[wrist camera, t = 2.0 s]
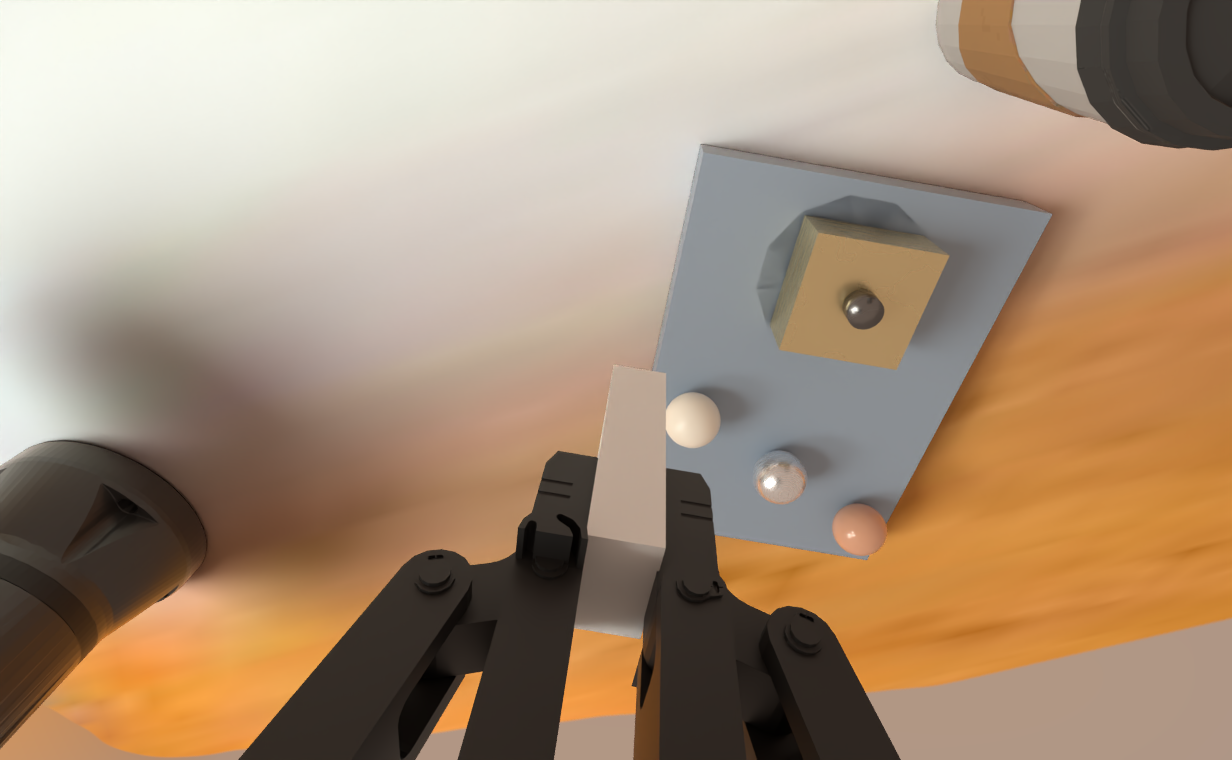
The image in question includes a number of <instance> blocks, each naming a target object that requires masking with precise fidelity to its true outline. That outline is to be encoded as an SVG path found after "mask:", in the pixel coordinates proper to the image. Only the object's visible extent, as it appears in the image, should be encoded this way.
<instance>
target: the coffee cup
mask: <svg viewBox="0 0 1232 760" xmlns="http://www.w3.org/2000/svg"><path fill="white" fill-rule="evenodd" d="M936 31H937V38H938V44H939V46H940V49H941V51H942V53H943V55H944V57H945V59H946V61H947V62H948V63H949V64H950V65H951V66H952V67H953V68H954V69H955V70H956V71H957V72H958V73H959V74H961V75H963V76H965V77H967V78H969V79H971V80H973V81H976V82H979V83H982V84H984V85H986V86H989V87H991V88H993V89H995V90H997V91H1000V92H1003V93H1006V94H1009V95H1012V96H1015V97H1018V98H1021V99H1024V100H1027V101H1030V102H1033V103H1036V104H1039V105H1042V106H1045V107H1048V108H1051V109H1054V110H1057V111H1060V112H1063V113H1066V114H1069V115H1072V116H1075V117H1087V118H1091V119H1094V120H1097V121H1101V122H1104V123H1107V124H1109V126H1110V127H1111V128H1112V129H1114V130H1116V131H1118V132H1120V133H1122V134H1124V135H1126V136H1128V137H1130V138H1132V139H1134V140H1136V141H1138V142H1140V143H1143V144H1150V145H1157V146H1164V147H1172V148H1187V147H1189V148H1196V149H1204V150H1220V149H1228V148H1232V0H939V1H938V7H937V16H936Z"/></svg>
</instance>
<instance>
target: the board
mask: <svg viewBox="0 0 1232 760" xmlns="http://www.w3.org/2000/svg"><path fill="white" fill-rule="evenodd" d="M804 215H807V216H813V217H819V218H825V219H830V220H836V221H842V222H847V223H853V224H859V225H864V226H870V227H876V228H882V229H887V230H893V231H899V232H904V233H910V234H916V235H922V236H925V237H926V238H927V239H929V240H930V241H931V242H933V243H934V244H935V245H937V246H938V247H939V248H940V249H942V250H943V251H944V252H946V253H947V254H948V255H950V256H949V258H948V260H947V262H946V264H945V267H944V269H943V271H942V273H941V275H940V277H939V280H938V282H937V284H936V286H935V288H934V290H933V293H932V295H931V297H930V299H929V301H928V303H927V306H926V308H925V310H924V312H923V314H922V316H921V318H920V321H919V323H918V325H917V327H916V329H915V331H914V334H913V336H912V338H911V340H910V342H909V344H908V347H907V349H906V351H905V353H904V355H903V357H902V359H901V362H900V364H899V366H898V368H897V370H893V369H888V368H882V367H876V366H870V365H864V364H858V363H852V362H847V361H841V360H835V359H829V358H823V357H817V356H812V355H806V354H800V353H794V352H788V351H782V350H779V349H778V346H777V343H776V340H775V338H774V335H773V332H772V329H771V327H770V322H771V319H772V316H773V312H774V309H775V306H776V303H777V300H778V297H779V294H780V291H781V287H782V284H783V281H784V278H785V275H786V272H787V269H788V266H789V262H790V259H791V256H792V253H793V250H794V247H795V244H796V240H797V237H798V234H799V231H800V228H801V225H802V222H803V219H804ZM1051 216H1052V214H1051V213H1049V212H1047V211H1045V210H1043V209H1040V208H1038V207H1036V206H1034V205H1032V204H1029V203H1027V202H1025V201H1020V200H1014V199H1008V198H1003V197H997V196H991V195H986V194H980V193H974V192H969V191H963V190H957V189H952V188H946V187H940V186H935V185H929V184H923V183H918V182H912V181H907V180H901V179H895V178H890V177H884V176H878V175H873V174H867V173H861V172H856V171H850V170H844V169H839V168H833V167H827V166H822V165H816V164H810V163H805V162H799V161H793V160H788V159H782V158H776V157H771V156H765V155H759V154H754V153H748V152H743V151H737V150H731V149H726V148H720V147H714V146H709V145H703V144H701V145H700V150H699V154H698V159H697V164H696V168H695V173H694V178H693V182H692V187H691V192H690V196H689V201H688V206H687V210H686V215H685V220H684V224H683V229H682V233H681V238H680V243H679V247H678V252H677V257H676V261H675V266H674V271H673V275H672V280H671V285H670V289H669V294H668V299H667V303H666V308H665V313H664V317H663V322H662V327H661V331H660V336H659V341H658V345H657V350H656V355H655V359H654V364H653V368H652V371H656V372H662V373H666V409H667V407H668V405H669V404H670V402H671V401H672V400H673V399H675V398H676V397H677V396H679V395H681V394H684V393H688V392H696V393H701V394H703V395H705V396H707V397H709V398H710V399H711V400H712V401H713V402H714V403H715V404H716V406H717V408H718V410H719V413H720V419H721V422H720V428H719V431H718V433H717V435H716V436H715V438H714V439H713V440H712V441H711V442H710V443H708V444H707V445H705V446H702V447H699V448H686V447H683V446H681V445H679V444H677V443H676V442H674V441H673V440H672V439H671V438H670V436H669V435H668V433H667V431H666V468H670V469H675V470H681V471H687V472H693V473H699V474H701V475H702V477H703V478H704V480H705V482H706V483H707V485H708V486H709V488H710V491H711V502H712V507H711V508H712V512H713V523H714V533H715V535H718V536H724V537H730V538H736V539H742V540H748V541H754V542H760V543H766V544H773V545H779V546H785V547H791V548H797V549H803V550H809V551H815V552H821V553H827V554H833V555H839V556H845V557H851V558H857V559H863V560H867V559H868V557H869V555H866V556H858V555H853V554H851V553H849V552H847V551H845V550H844V549H842V548H841V547H840V546H839V544H838V543H837V542H836V540H835V538H834V536H833V532H832V523H833V519H834V516H835V515H836V513H837V512H838V511H839V510H840V509H841V508H843V507H844V506H846V505H849V504H854V503H860V504H865V505H868V506H870V507H872V508H874V509H875V510H876V511H878V512H879V513H880V515H881V516H882V517H883V519H884V521H885V523H886V524H887V522H888V520H889V518H890V516H891V514H892V512H893V510H894V509H895V507H896V505H897V503H898V501H899V499H900V497H901V496H902V494H903V492H904V490H905V488H906V486H907V484H908V483H909V481H910V479H911V477H912V475H913V473H914V471H915V469H916V468H917V466H918V464H919V462H920V460H921V458H922V456H923V455H924V453H925V451H926V449H927V447H928V445H929V443H930V442H931V440H932V438H933V436H934V434H935V432H936V430H937V429H938V427H939V425H940V423H941V421H942V419H943V417H944V415H945V414H946V412H947V410H948V408H949V406H950V404H951V402H952V401H953V399H954V397H955V395H956V393H957V391H958V389H959V388H960V386H961V384H962V382H963V380H964V378H965V376H966V374H967V373H968V371H969V369H970V367H971V365H972V363H973V361H974V360H975V358H976V356H977V354H978V352H979V350H980V348H981V347H982V345H983V343H984V341H985V339H986V337H987V335H988V333H989V332H990V330H991V328H992V326H993V324H994V322H995V320H996V319H997V317H998V315H999V313H1000V311H1001V309H1002V307H1003V306H1004V304H1005V302H1006V300H1007V298H1008V296H1009V294H1010V292H1011V291H1012V289H1013V287H1014V285H1015V283H1016V281H1017V279H1018V278H1019V276H1020V274H1021V272H1022V270H1023V268H1024V266H1025V265H1026V263H1027V261H1028V259H1029V257H1030V255H1031V253H1032V251H1033V250H1034V248H1035V246H1036V244H1037V242H1038V240H1039V238H1040V237H1041V235H1042V233H1043V231H1044V229H1045V227H1046V225H1047V224H1048V222H1049V220H1050V218H1051ZM777 450H781V451H786V452H789V453H792V454H793V455H795V456H796V457H798V458H799V459H800V460H801V462H802V463H803V464H804V466H805V468H806V471H807V480H808V481H807V486H806V489H805V491H804V493H803V494H802V495H801V496H800V497H799V498H798V499H797V500H795V501H793V502H791V503H788V504H774V503H771V502H769V501H767V500H765V499H764V498H762V497H761V496H760V495H759V494H758V492H757V491H756V489H755V487H754V484H753V479H752V473H753V468H754V466H755V464H756V462H757V461H758V459H759V458H760V457H762V456H763V455H764V454H766V453H768V452H771V451H777Z"/></svg>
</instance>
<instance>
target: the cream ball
mask: <svg viewBox="0 0 1232 760" xmlns="http://www.w3.org/2000/svg"><path fill="white" fill-rule="evenodd" d="M720 422H721V419H720V413H719V410H718V408H717V406H716V404H715V403H714V402H713V401H712V400H711V399H710V398H709V397H707V396H705V395H703V394H701V393H696V392H688V393H684V394H681V395H679V396H677V397H676V398H675V399H673V400H672V401H671V402H670V404H669V405H668V407H667V409H666V431H667V433H668V435H669V436H670V438H671V439H672V440H673V441H674V442H676V443H677V444H679V445H681V446H683V447H686V448H699V447H702V446H705V445H707V444H708V443H710V442H711V441H712V440H713V439H714V438H715V436H716V435H717V433H718V431H719V428H720Z"/></svg>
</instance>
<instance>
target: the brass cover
mask: <svg viewBox="0 0 1232 760" xmlns="http://www.w3.org/2000/svg"><path fill="white" fill-rule="evenodd" d="M949 256H950V255H948V254H947V253H946V252H944V251H943V250H942V249H940V248H939V247H938V246H937V245H935V244H934V243H933V242H931V241H930V240H929V239H927V238H926V237H925V236H922V235H916V234H910V233H904V232H899V231H893V230H887V229H882V228H876V227H870V226H864V225H859V224H853V223H847V222H842V221H836V220H830V219H825V218H819V217H813V216H807V215H804V219H803V222H802V225H801V228H800V231H799V234H798V237H797V240H796V244H795V247H794V250H793V253H792V256H791V259H790V262H789V266H788V269H787V272H786V275H785V278H784V281H783V284H782V287H781V291H780V294H779V297H778V300H777V303H776V306H775V309H774V312H773V316H772V319H771V322H770V327H771V329H772V332H773V335H774V338H775V340H776V343H777V346H778V349H779V350H782V351H788V352H794V353H800V354H806V355H812V356H817V357H823V358H829V359H835V360H841V361H847V362H852V363H858V364H864V365H870V366H876V367H882V368H888V369H893V370H897V368H898V366H899V364H900V362H901V359H902V357H903V355H904V353H905V351H906V349H907V347H908V344H909V342H910V340H911V338H912V336H913V334H914V331H915V329H916V327H917V325H918V323H919V321H920V318H921V316H922V314H923V312H924V310H925V308H926V306H927V303H928V301H929V299H930V297H931V295H932V293H933V290H934V288H935V286H936V284H937V282H938V280H939V277H940V275H941V273H942V271H943V269H944V267H945V264H946V262H947V260H948V258H949Z"/></svg>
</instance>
